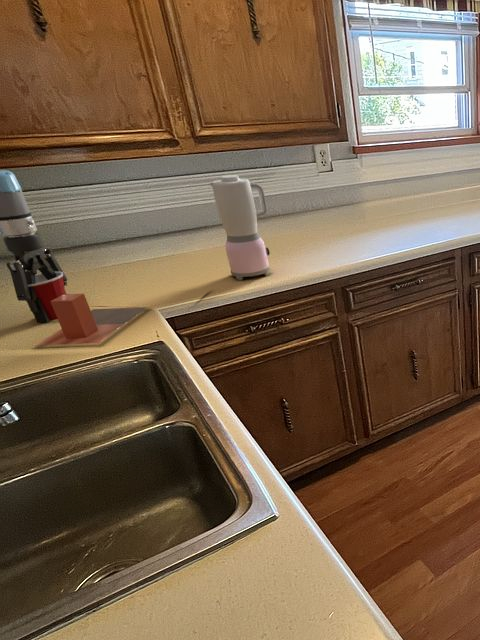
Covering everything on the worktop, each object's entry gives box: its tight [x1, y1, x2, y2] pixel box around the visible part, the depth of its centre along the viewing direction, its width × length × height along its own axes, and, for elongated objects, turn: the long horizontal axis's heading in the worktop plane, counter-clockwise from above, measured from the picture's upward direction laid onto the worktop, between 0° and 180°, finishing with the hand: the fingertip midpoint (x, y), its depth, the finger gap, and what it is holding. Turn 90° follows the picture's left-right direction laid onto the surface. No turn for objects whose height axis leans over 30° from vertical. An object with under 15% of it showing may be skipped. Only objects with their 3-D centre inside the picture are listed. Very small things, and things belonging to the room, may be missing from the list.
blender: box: [208, 174, 271, 281], centre depth 170 cm, size 16×12×32 cm
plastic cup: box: [28, 271, 67, 321], centre depth 142 cm, size 11×11×12 cm
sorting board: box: [35, 306, 148, 349], centre depth 138 cm, size 15×24×1 cm, turn 4°
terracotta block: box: [50, 293, 98, 339], centre depth 130 cm, size 5×5×10 cm
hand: (54, 315), depth 144 cm, fingers closed on plastic cup, 9 cm apart
